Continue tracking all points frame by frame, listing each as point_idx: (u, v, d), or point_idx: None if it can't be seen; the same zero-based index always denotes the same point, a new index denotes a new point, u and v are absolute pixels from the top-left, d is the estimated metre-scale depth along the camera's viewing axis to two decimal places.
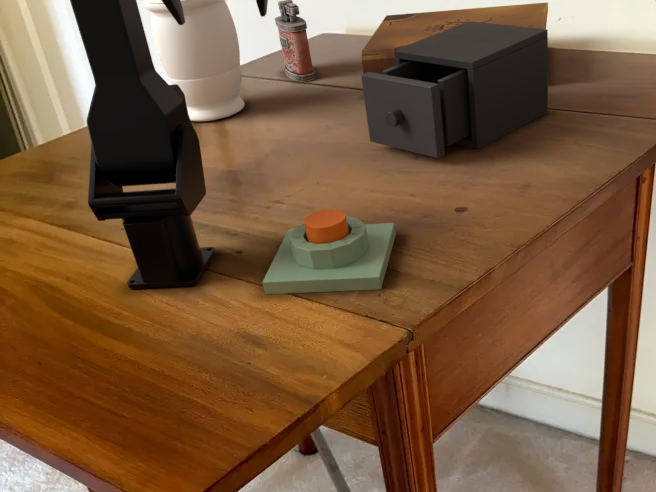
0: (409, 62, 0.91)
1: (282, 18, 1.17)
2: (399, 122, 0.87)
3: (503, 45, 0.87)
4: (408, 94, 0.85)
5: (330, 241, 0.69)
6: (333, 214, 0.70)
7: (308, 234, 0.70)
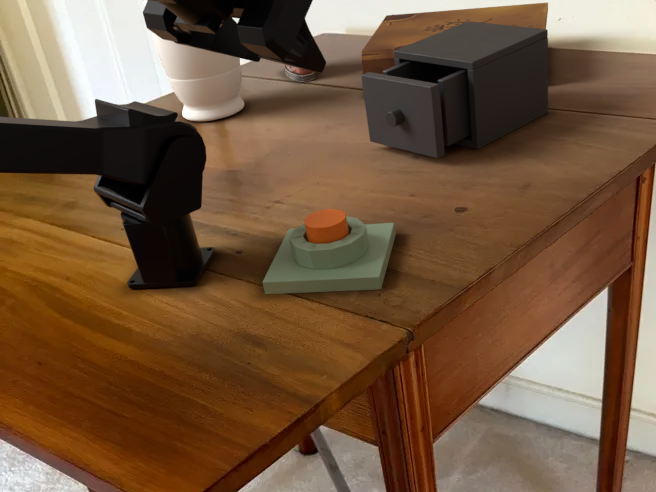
0: (409, 62, 0.91)
1: None
2: (399, 122, 0.87)
3: (503, 45, 0.87)
4: (408, 94, 0.85)
5: (330, 241, 0.69)
6: (333, 214, 0.70)
7: (308, 234, 0.70)
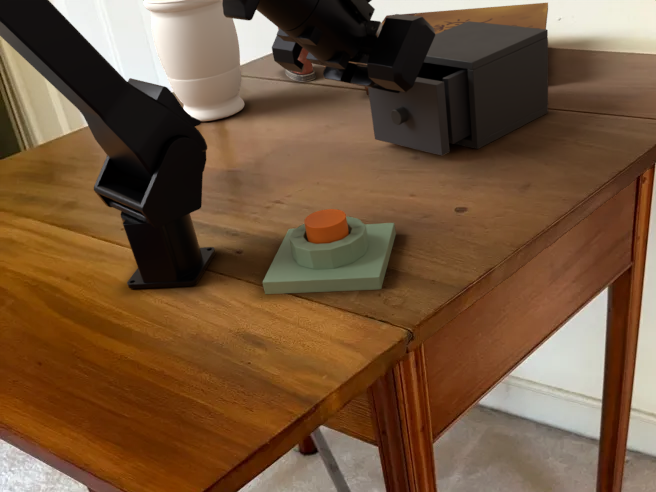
0: None
1: None
2: (404, 120, 0.87)
3: (503, 45, 0.87)
4: (413, 91, 0.85)
5: (330, 241, 0.69)
6: (333, 214, 0.70)
7: (308, 234, 0.70)
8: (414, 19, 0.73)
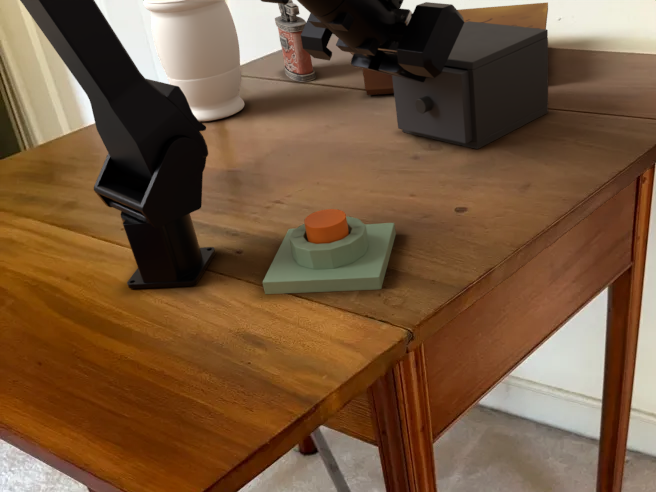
0: None
1: (282, 18, 1.17)
2: (428, 109, 0.89)
3: (503, 45, 0.87)
4: (438, 81, 0.87)
5: (330, 241, 0.69)
6: (333, 214, 0.70)
7: (308, 234, 0.70)
8: (444, 7, 0.75)
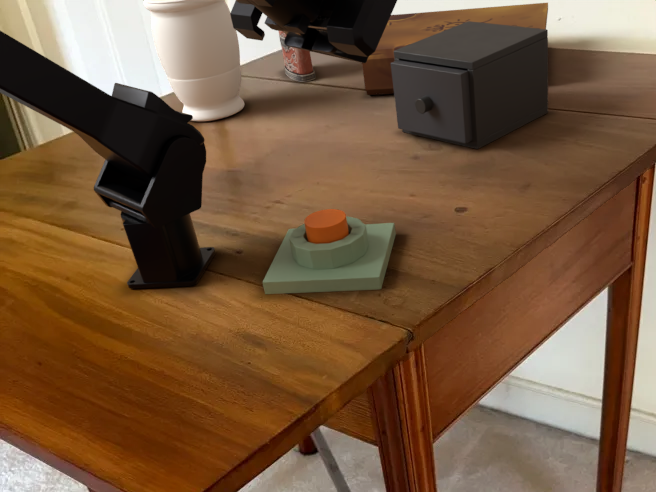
0: None
1: None
2: (428, 109, 0.89)
3: (503, 45, 0.87)
4: (438, 81, 0.87)
5: (330, 241, 0.69)
6: (333, 214, 0.70)
7: (308, 234, 0.70)
8: None
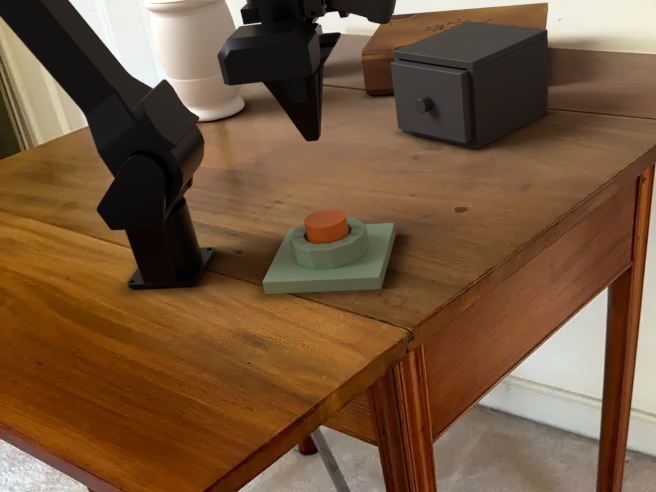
0: None
1: None
2: (428, 109, 0.89)
3: (503, 45, 0.87)
4: (438, 81, 0.87)
5: (330, 241, 0.69)
6: (333, 214, 0.70)
7: (308, 234, 0.70)
8: (295, 34, 0.53)
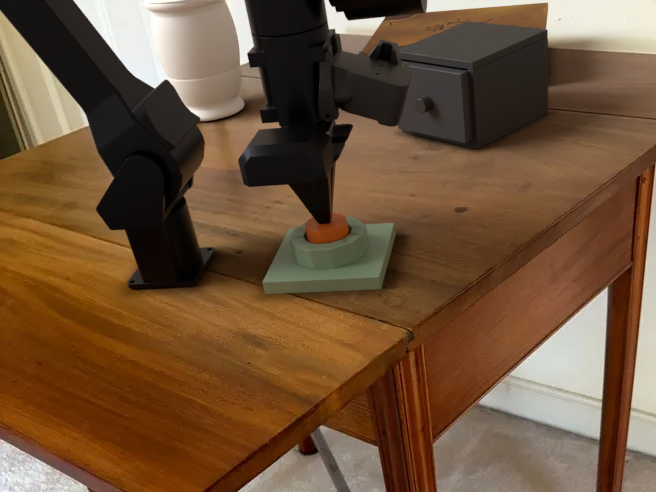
0: None
1: None
2: (428, 109, 0.89)
3: (503, 45, 0.87)
4: (438, 81, 0.87)
5: None
6: (334, 218, 0.70)
7: (309, 238, 0.70)
8: (310, 144, 0.57)
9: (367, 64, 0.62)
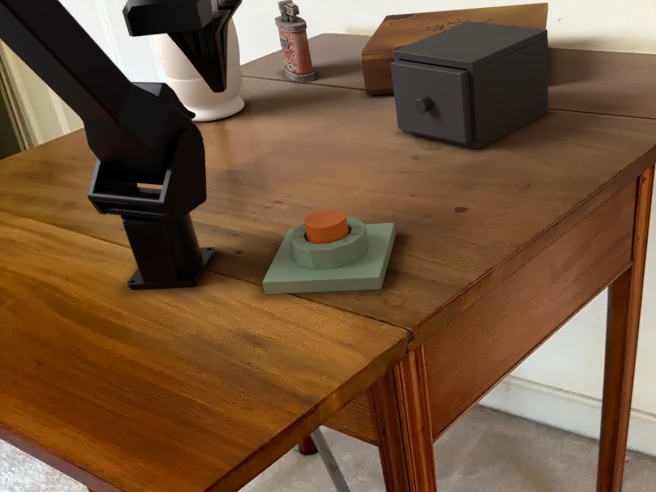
0: None
1: (282, 18, 1.17)
2: (428, 109, 0.89)
3: (503, 45, 0.87)
4: (438, 81, 0.87)
5: (330, 241, 0.69)
6: (333, 214, 0.70)
7: (308, 234, 0.70)
8: None
9: None
